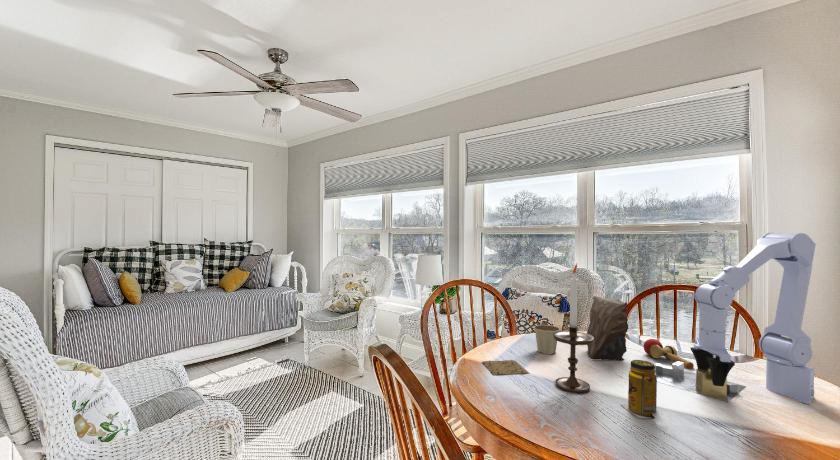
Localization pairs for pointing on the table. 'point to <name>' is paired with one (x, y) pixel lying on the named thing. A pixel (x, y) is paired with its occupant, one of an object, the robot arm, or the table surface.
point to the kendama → (664, 352)
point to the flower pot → (546, 338)
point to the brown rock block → (608, 329)
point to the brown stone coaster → (504, 367)
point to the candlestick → (573, 344)
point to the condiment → (642, 389)
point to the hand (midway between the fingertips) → (710, 380)
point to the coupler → (708, 384)
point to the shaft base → (689, 380)
